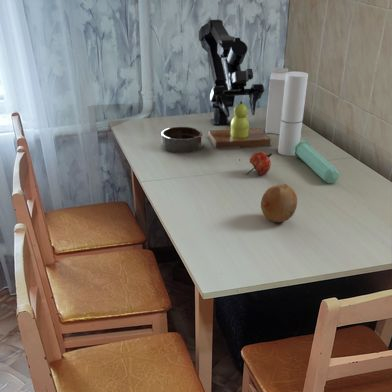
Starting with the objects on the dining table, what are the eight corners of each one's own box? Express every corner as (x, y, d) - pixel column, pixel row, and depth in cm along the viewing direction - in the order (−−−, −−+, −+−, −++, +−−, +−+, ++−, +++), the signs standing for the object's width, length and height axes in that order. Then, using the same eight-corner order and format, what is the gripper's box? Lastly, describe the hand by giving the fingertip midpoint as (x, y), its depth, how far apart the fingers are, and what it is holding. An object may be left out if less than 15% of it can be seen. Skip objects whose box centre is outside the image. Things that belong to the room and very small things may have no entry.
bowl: (159, 141, 198) (158, 127, 194) (197, 139, 200) (197, 125, 197) (165, 155, 187) (164, 140, 184) (205, 153, 189) (205, 138, 186)
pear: (226, 135, 196) (228, 101, 189) (237, 131, 200) (238, 97, 193) (241, 139, 193) (243, 105, 186) (252, 134, 197) (254, 101, 190)
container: (340, 165, 164) (307, 137, 182) (322, 174, 164) (291, 145, 183) (343, 181, 168) (311, 153, 186) (326, 190, 168) (296, 160, 187)
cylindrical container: (297, 149, 193) (307, 71, 177) (298, 156, 187) (308, 77, 171) (277, 148, 193) (285, 71, 178) (278, 155, 188) (286, 76, 172)
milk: (268, 128, 211) (273, 65, 197) (283, 129, 210) (289, 66, 196) (265, 133, 206) (270, 69, 193) (280, 134, 205) (287, 70, 191)
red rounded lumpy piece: (252, 186, 172) (279, 167, 169) (239, 167, 169) (266, 147, 166) (251, 179, 178) (277, 161, 175) (239, 161, 176) (265, 142, 172)
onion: (271, 209, 154) (275, 174, 147) (302, 219, 149) (306, 184, 143) (252, 220, 148) (254, 185, 142) (283, 231, 143) (287, 195, 137)
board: (208, 137, 202) (208, 130, 200) (260, 134, 205) (260, 127, 203) (215, 149, 192) (215, 142, 190) (270, 146, 195) (270, 139, 193)
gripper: (212, 60, 183) (221, 104, 182) (265, 58, 187) (273, 101, 185) (206, 80, 194) (213, 121, 193) (255, 77, 197) (263, 118, 196)
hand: (241, 115), depth 191 cm, fingers open, 9 cm apart
